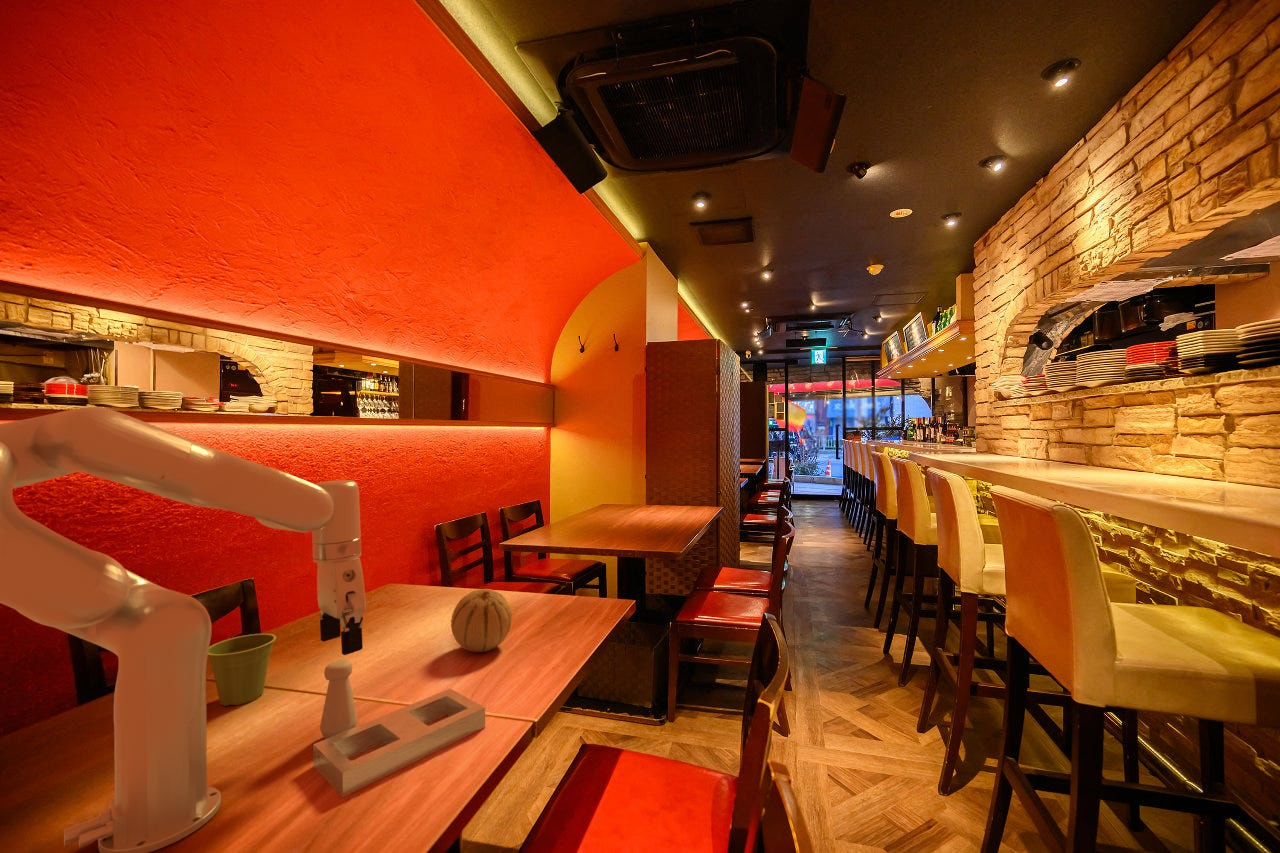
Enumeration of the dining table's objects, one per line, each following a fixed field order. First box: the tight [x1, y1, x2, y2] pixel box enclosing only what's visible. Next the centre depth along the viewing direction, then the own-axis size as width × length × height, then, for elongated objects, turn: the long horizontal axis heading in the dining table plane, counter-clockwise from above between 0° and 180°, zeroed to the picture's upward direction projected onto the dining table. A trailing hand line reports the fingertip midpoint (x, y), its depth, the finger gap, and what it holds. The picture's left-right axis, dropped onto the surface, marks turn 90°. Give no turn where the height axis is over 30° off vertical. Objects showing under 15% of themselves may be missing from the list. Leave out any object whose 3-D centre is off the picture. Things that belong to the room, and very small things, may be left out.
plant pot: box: [208, 633, 277, 707], centre depth 110 cm, size 12×12×11 cm
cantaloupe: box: [450, 588, 513, 653], centre depth 133 cm, size 15×15×15 cm
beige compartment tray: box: [312, 688, 486, 798], centre depth 91 cm, size 24×12×4 cm, turn 139°
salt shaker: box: [319, 659, 359, 740], centre depth 95 cm, size 6×6×13 cm
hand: (341, 645), depth 95 cm, fingers open, 9 cm apart
